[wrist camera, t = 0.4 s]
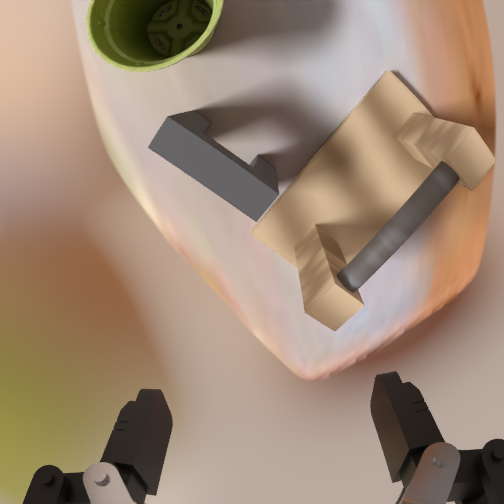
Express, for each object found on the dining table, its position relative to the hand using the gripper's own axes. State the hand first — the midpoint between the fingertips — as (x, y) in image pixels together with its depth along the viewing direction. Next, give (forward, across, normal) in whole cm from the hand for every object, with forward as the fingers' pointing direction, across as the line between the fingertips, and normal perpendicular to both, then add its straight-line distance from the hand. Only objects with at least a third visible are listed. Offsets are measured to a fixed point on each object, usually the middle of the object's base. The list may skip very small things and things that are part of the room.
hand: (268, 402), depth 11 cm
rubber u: (+21, +2, -8) cm, 22 cm away
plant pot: (+20, +5, -20) cm, 28 cm away
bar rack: (+21, -10, -3) cm, 23 cm away
